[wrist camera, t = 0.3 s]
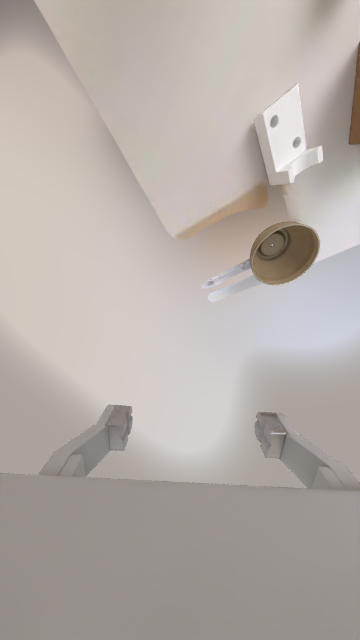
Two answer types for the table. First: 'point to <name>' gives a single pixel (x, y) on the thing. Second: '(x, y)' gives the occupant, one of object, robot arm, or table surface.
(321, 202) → the table surface
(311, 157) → the bracket
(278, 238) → the planter bowl
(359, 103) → the carton
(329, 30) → the table surface
